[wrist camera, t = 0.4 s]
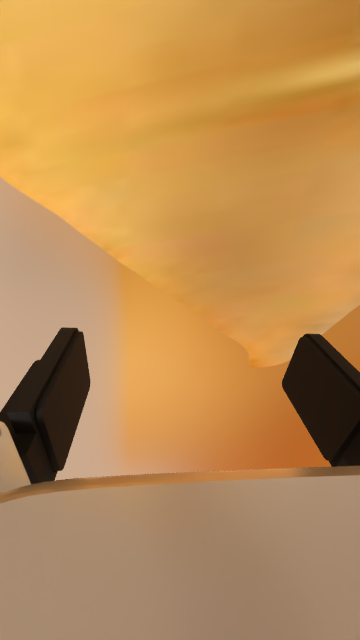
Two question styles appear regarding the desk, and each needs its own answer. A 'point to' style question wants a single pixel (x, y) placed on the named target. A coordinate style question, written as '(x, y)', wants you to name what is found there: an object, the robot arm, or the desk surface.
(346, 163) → the desk surface
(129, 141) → the desk surface
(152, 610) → the robot arm
